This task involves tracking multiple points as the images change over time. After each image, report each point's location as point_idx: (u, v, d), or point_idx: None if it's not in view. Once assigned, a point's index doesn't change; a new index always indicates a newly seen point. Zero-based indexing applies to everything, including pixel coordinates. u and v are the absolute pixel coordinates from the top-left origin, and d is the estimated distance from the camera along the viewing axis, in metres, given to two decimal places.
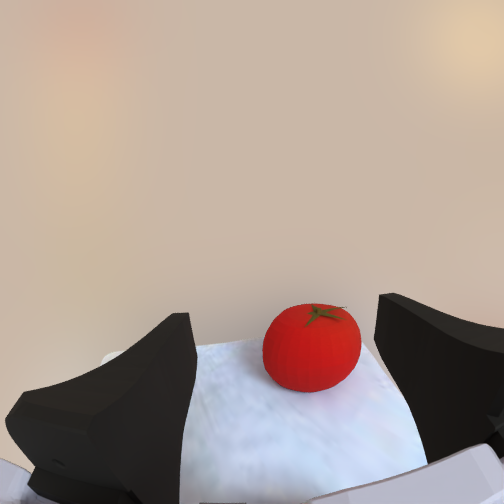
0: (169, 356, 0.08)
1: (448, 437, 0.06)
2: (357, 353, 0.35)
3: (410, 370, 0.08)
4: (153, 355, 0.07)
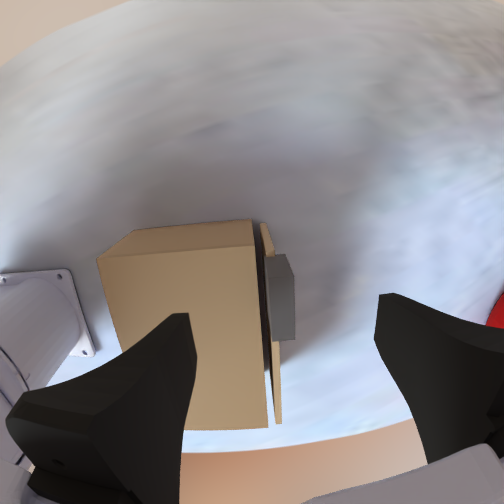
0: (169, 356, 0.08)
1: (448, 437, 0.06)
2: None
3: (410, 370, 0.08)
4: (153, 355, 0.07)
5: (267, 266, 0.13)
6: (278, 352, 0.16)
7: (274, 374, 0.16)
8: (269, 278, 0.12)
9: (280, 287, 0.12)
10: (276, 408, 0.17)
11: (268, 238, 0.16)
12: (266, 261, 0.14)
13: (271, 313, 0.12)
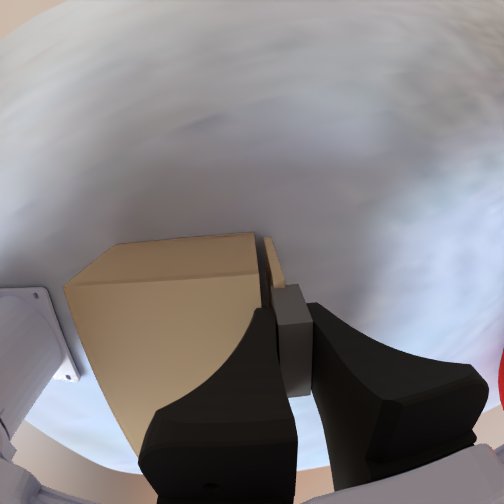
0: (276, 350, 0.08)
1: (343, 468, 0.06)
2: None
3: (320, 388, 0.08)
4: (273, 350, 0.07)
5: (276, 304, 0.10)
6: None
7: None
8: (279, 325, 0.09)
9: (293, 337, 0.09)
10: None
11: (275, 260, 0.13)
12: (274, 296, 0.10)
13: (281, 367, 0.09)
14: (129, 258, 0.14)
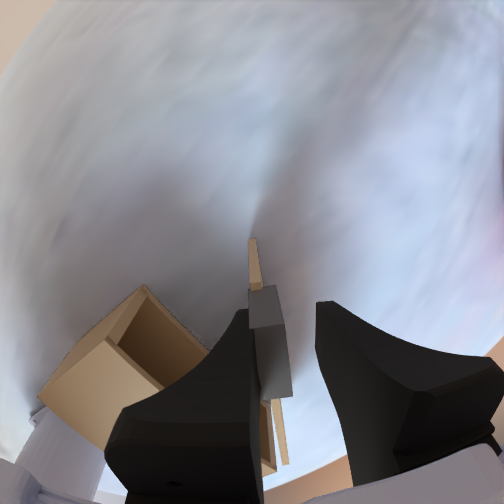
0: (254, 352, 0.08)
1: (365, 463, 0.06)
2: None
3: (339, 385, 0.08)
4: (247, 352, 0.07)
5: (250, 307, 0.10)
6: None
7: (275, 419, 0.13)
8: None
9: (266, 339, 0.09)
10: (281, 451, 0.14)
11: (255, 262, 0.13)
12: (250, 298, 0.10)
13: (258, 370, 0.09)
14: (71, 355, 0.15)
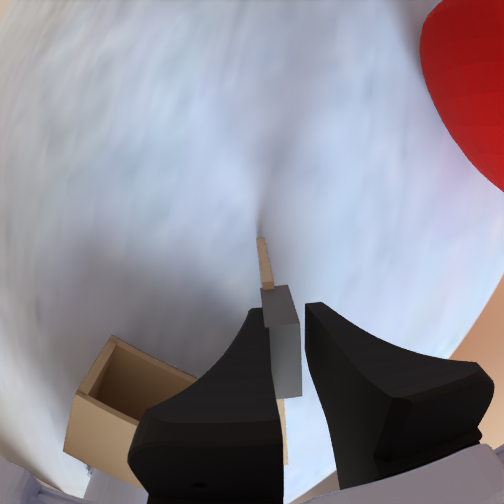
0: (269, 351, 0.08)
1: (350, 467, 0.06)
2: None
3: (326, 387, 0.08)
4: (265, 350, 0.07)
5: (264, 306, 0.10)
6: None
7: None
8: (266, 327, 0.09)
9: (281, 338, 0.09)
10: None
11: (266, 261, 0.13)
12: (263, 297, 0.10)
13: None
14: None
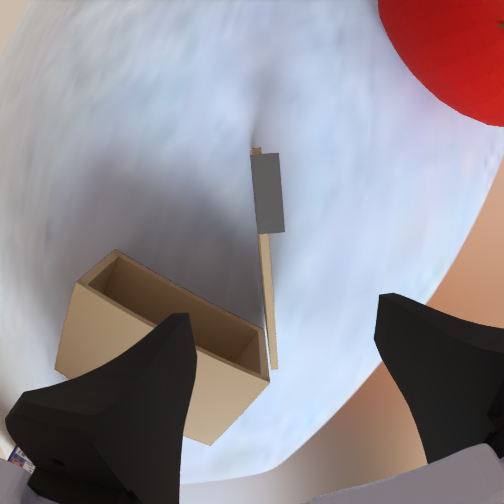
0: (169, 356, 0.08)
1: (448, 437, 0.06)
2: None
3: (410, 370, 0.08)
4: (153, 355, 0.07)
5: None
6: (270, 270, 0.15)
7: (266, 299, 0.15)
8: (252, 155, 0.11)
9: (264, 166, 0.11)
10: (271, 347, 0.16)
11: None
12: (251, 155, 0.13)
13: (256, 197, 0.11)
14: None
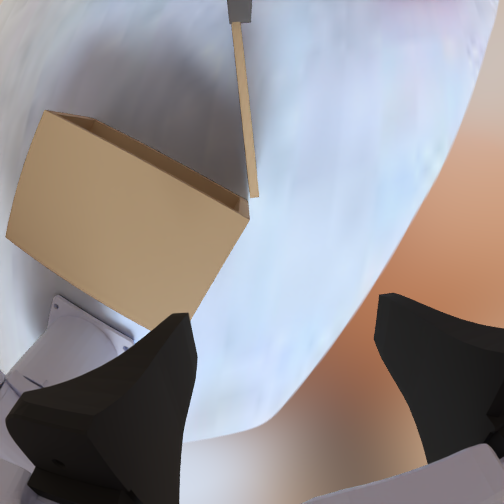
0: (169, 356, 0.08)
1: (448, 437, 0.06)
2: None
3: (410, 370, 0.08)
4: (153, 355, 0.07)
5: None
6: (244, 66, 0.12)
7: (241, 98, 0.12)
8: None
9: None
10: (248, 161, 0.13)
11: None
12: None
13: None
14: None
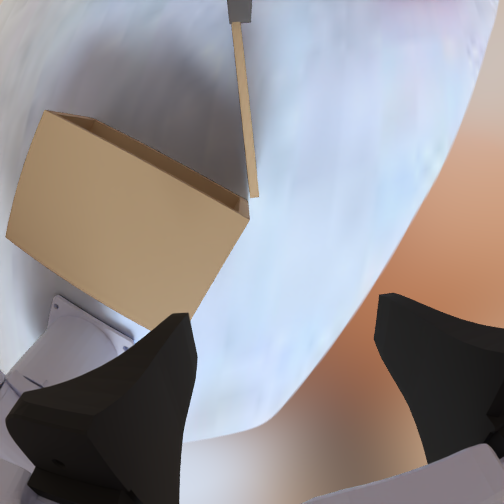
0: (169, 356, 0.08)
1: (448, 437, 0.06)
2: None
3: (410, 370, 0.08)
4: (153, 355, 0.07)
5: None
6: (244, 66, 0.12)
7: (241, 98, 0.12)
8: None
9: None
10: (248, 161, 0.13)
11: None
12: None
13: None
14: None
